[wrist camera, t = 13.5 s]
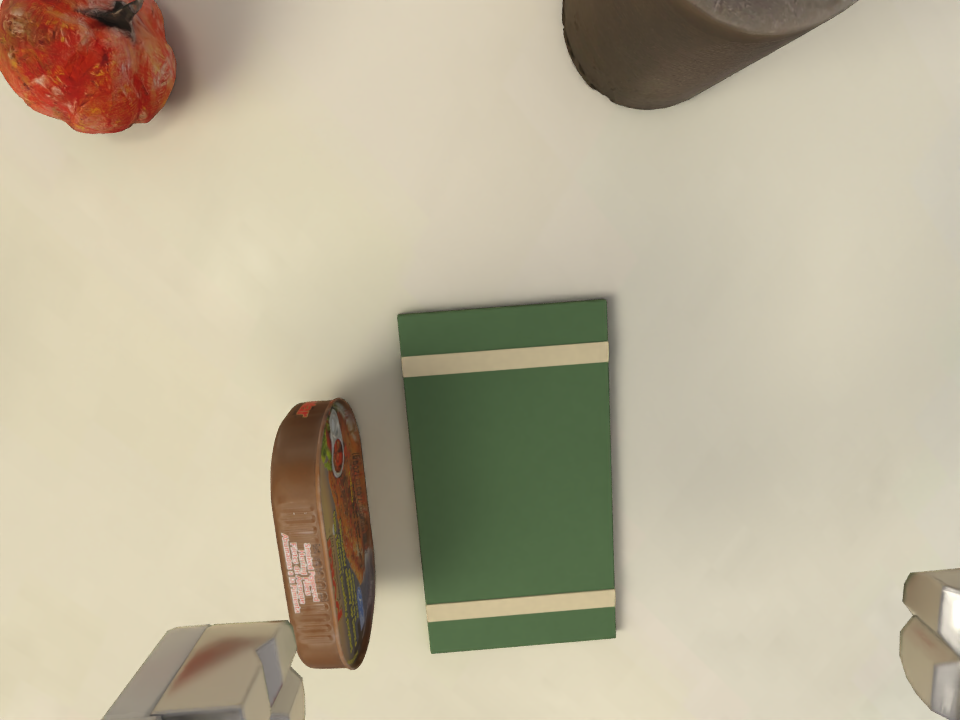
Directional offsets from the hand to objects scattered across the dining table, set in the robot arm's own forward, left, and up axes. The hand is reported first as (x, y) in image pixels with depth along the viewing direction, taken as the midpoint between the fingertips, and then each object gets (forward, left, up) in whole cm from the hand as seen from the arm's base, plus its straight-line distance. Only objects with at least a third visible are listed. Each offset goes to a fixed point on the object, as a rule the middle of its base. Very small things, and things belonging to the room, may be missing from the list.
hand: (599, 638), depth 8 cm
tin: (+10, +11, -29) cm, 32 cm away
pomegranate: (+18, -15, -29) cm, 37 cm away
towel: (-1, +10, -29) cm, 30 cm away
